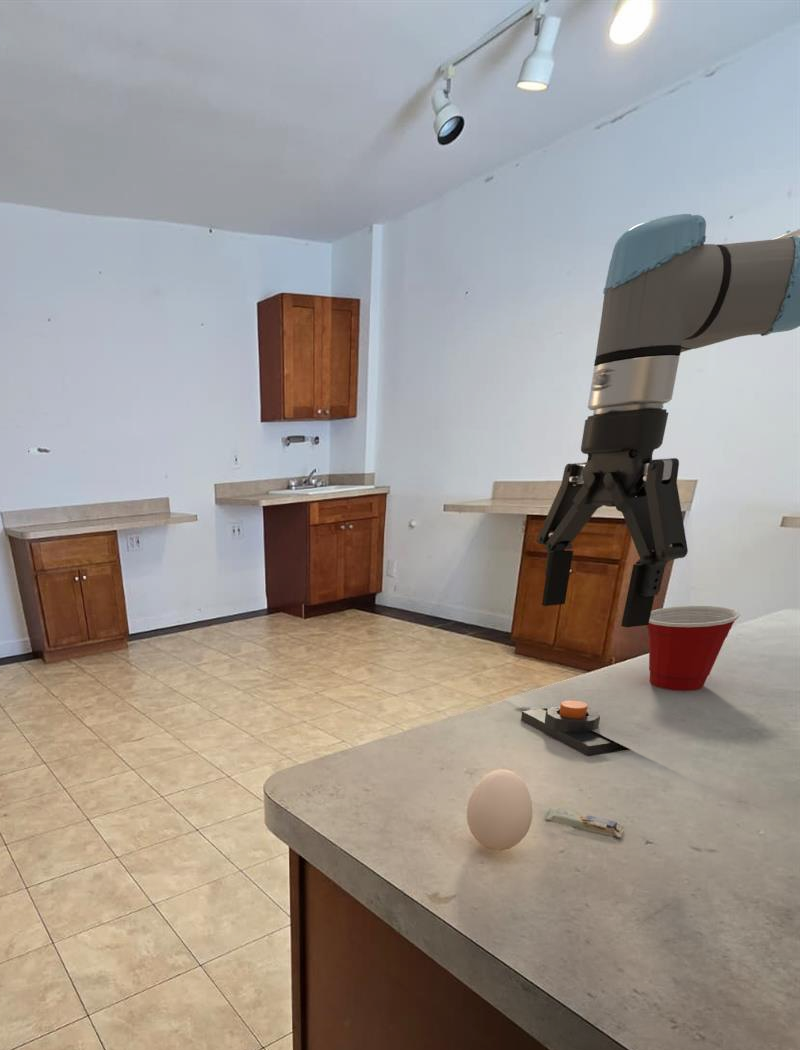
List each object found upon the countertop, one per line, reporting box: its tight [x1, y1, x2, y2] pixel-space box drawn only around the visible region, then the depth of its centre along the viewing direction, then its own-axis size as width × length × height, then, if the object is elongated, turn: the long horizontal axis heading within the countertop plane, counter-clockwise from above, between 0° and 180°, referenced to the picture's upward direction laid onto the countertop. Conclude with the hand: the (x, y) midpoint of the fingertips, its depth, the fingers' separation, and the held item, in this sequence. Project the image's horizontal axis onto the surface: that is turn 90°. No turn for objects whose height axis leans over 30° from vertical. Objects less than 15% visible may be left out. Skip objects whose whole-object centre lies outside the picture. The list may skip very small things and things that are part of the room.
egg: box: [466, 768, 534, 852], centre depth 58 cm, size 6×6×8 cm
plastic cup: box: [646, 605, 741, 692], centre depth 90 cm, size 11×11×12 cm
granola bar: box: [544, 808, 625, 838], centre depth 62 cm, size 7×2×1 cm, turn 51°
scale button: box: [559, 700, 589, 718], centre depth 80 cm, size 3×3×2 cm
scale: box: [520, 705, 632, 757], centre depth 82 cm, size 18×13×3 cm
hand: (590, 614), depth 75 cm, fingers open, 13 cm apart
